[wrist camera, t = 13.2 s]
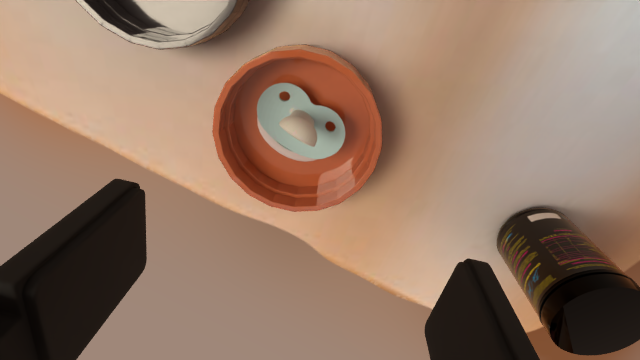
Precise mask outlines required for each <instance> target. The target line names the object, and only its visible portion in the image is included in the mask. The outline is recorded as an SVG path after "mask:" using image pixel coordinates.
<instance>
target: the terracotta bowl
mask: <svg viewBox="0 0 640 360" xmlns="http://www.w3.org/2000/svg"><path fill="white" fill-rule="evenodd" d="M278 83H291V84H294V85H296V86H298V87H300V88H301V89H302V90H303V91H304V92H305V93H306V94H307V95H308V97H309V99H310V101H311V103H313V104H314V105H321V106H325V107H328V108H330V109H332V110H333V111H335V112H336V113H337V114H338V115H339V116H340V118H341V119H342V121H343V124H344V127H345V139H344V143H343V145H342V147H341V148H340V149H339V150H338V151H337V152H336V153H335V154H333V155H332V156H329V157H327V158H323V159H317V160H315V161H307V162H304V161H297V160H294V159H291V158H288V157H286V156H284V155H282V154H280V153H279V152H277V151H276V150H274V149H273V148H272V147H271V146H270V145H269V144H268V143H267V142H266V141H265V139H264V138H263V136H262V135H261V133H260V131H259V128H258V123H257V118H258V116H257V104H258V101H259V98H260V96H261V95H262V93H263V92H264V91H265V90H266V89H267V88H269V87H270V86H272V85H274V84H278ZM279 96H280V98H281V99H282V100H284V101H286V100H289V99H290V94H289V93H288V92H286V91H283V92H281V93H280V94H279ZM325 126H326V129H327V130H329V131H333V130H335V128H336V127H335V124H334V123H333V122H331V121H328V122H327V123H326V124H325ZM212 132H213V137H214V141H215V145H216V149H217V153H218V157H219V159H220V160H221V162H222V164H223V165H224V167H225V169H226V171H227V172H228V174H229V176H230V177H231V179H232V180H234V181H235V182H236V183H237V184H238V185H239V186H240V187H241V188H242V189H243V190H244V191H245V192H246V193H247V194H249V195H250V196H252V197H254V198H256V199H257V200H259V201H261V202H263V203H265V204H267V205H269V206H271V207H276V208H280V209H285V210H289V211H294V212H297V211H317V210H321V209H324V208H327V207H330V206H333V205H336V204H339V203H341V202H343V201H344V200H345V199H347V198H348V197H350V196H351V195H353V194H354V193H355V192H357V191H358V190H359V189H360V188H361V187H362V186H363V184H364V183H365V182H366V180H367V179H368V178H369V176H370V175H371V174H372V173H373V171H374V169H375V166H376V163H377V160H378V157H379V154H380V151H381V148H382V121H381V117H380V114H379V110H378V107H377V105H376V102H375V99H374V96H373V94H372V91H371V88H370V86H369V84H368V83H367V82H366V81H365V79H364V78H363V77H362V76H361V74H360V73H359V72H358V71H357V69H356V68H355V67H354V66H353V65H352V64H350V63H349V62H347V61H346V60H344V59H343V58H341V57H339V56H338V55H336V54H335V53H333V52H332V51H329V50H325V49H321V48H317V47H313V46H309V45H293V46H282V47H277V48H274V49H272V50H270V51H268V52H266V53H264V54H262V55H259V56H257V57H255V58H254V59H252V60H250V61H248V62H247V63H245V64H244V65H243V66H242V67H241V68H240V69H239V70H238V71H237V72H236V73H235V74H234V75H233V76H232V77H231V78H230V79H229V80H228V81H227V82H226V83H225V85H224V87H223V90H222V92H221V94H220V96H219V98H218V100H217V103H216V105H215V108H214V120H213V131H212Z"/></svg>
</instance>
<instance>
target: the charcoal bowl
mask: <svg viewBox="0 0 640 360" xmlns="http://www.w3.org/2000/svg"><path fill="white" fill-rule="evenodd" d="M76 1H77V2H78V3H79V4H80V5H81V6H82V7H83V8H84V9H85V10H86V11H87V12H88V13H89V14H90V15H91V16H92V17H93V18H94V19H95V20H96V21H97V22H98V23H99V24H100V25H102V26H103V27H104V28H106V29H108V30H110V31H111V32H113V33H115V34H117V35H118V36H120V37H122V38H124V39H125V40H127V41H129V42H131V43H134V44H138V45H143V46H147V47H151V48H155V49H160V50H161V49H172V48H182V47H189V46H193V45H196V44H200V43H203V42H205V41H208V40H210V39H212V38H214V37H216V36H218V35H220V34H222V33H224V32H225V31H227V30H228V29H229V27H230V26H231V25H232V24H233V23H234V22H235V21H236V20H237V19H238V18H239V17H240V16H241V14H242V13H243V12H244V10H245V9H246V6H247V4H248V2H249V0H76Z"/></svg>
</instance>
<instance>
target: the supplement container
mask: <svg viewBox="0 0 640 360" xmlns="http://www.w3.org/2000/svg"><path fill="white" fill-rule="evenodd" d="M497 248H498V251H499V253H500V255H501V256H502V258H503V260H504V261H505V263H506V264H507V266H508V268H509V269H510V271H511V273H512V274H513V276H514V277H515V279H516V281H517V282H518V284H519V286H520V287H521V289H522V290H523V292H524V294H525V295H526V297H527V299H528V300H529V302H530V304H531V305H532V307H533V308H534V310H535V312H536V313H537V315H538V317H539V319H540V321H541V323H542V325H543V326H544V327H545V329H546V330H547V332H548V334H549V335H550V337H551V339H552V340H553V342H554V343H555V344H556V345H557V346H558V347H560V348H561V349H563V350H565V351H567V352H570V353H574V354H578V355H601V354H607V353H611V352H615V351H618V350H621V349H623V348H625V347H627V346H630V345H631V344H633V343H635V342H636V341H638V340H639V339H640V287H639V286H638V285H637V284H636V283H635V282H634V281H633V280H632V279H631V278H630V277H628V276H627V275H626V274H625V273H624V272H623V271H622V270H621V269H620V268H619V267H618V266H616V265H615V264H614V263H613V262H612V261H611V260H610V259H609V258H608V257H607V256H606V255H605V254H604V253H603V252H602V251H601V250H600V249H599V248H598V247H597V246H596V245H595V244H594V243H593V242H592V241H591V240H590V239H589V238H588V237H587V236H586V235H585V234H584V233H582V232H581V231H580V230H579V229H578V228H577V227H576V226H575V225H574V224H573V223H572V222H571V221H570V220H569V219H568V218H567V217H566V216H565V215H564V214H562V213H560V212H558V211H556V210H552V209H548V208H533V209H528V210H524V211H522V212H519V213H517V214H516V215H514V216H512V217H511V218H510V219H508V220H507V221H506V222H505V223H504V225H503V226H502V227H501V229H500V231H499V233H498V237H497Z"/></svg>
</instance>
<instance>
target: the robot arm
mask: <svg viewBox="0 0 640 360" xmlns="http://www.w3.org/2000/svg"><path fill="white" fill-rule="evenodd" d="M145 265H146V215H145V192H144V190H142V189H140V186H139V184H137V183H134V182H129V181H125V180H121V179H114V180H113V181H111V182H110V183H109V184H107V185H106V186H105V187H103V188H102V189H101V190H99V191H98V192H97V193H96V194H94V195H93V196H92V197H90V198H89V199H88V200H86V201H85V202H84V203H82V204H81V205H80V206H79V207H77V208H76V209H75V210H73V211H72V212H71V213H70V214H68V215H67V216H65V217H64V218H63V219H62V220H61V221H59V222H58V223H56V224H55V225H54V226H52V227H51V228H50V229H48V230H47V231H46V232H45V233H43V234H42V235H41V236H39V237H38V238H37V239H35V240H34V241H33V242H31V243H30V244H29V245H28V246H26V247H25V248H24V249H22V250H21V251H20V252H18V253H17V254H16V255H14V256H13V257H12V258H11V259H9V260H8V261H7V262H5V263H4V264H3V265H2V266H0V360H76V359H77V358H78V356H79V355H80V354H81V353H82V351H83V350H84V348H85V347H86V346H87V345H88V343H89V342H90V341H91V339H92V338H93V337H94V335H95V334H96V333H97V331H98V330H99V329H100V328H101V326H102V325H103V323H104V322H105V321H106V319H107V318H108V317H109V315H110V314H111V313H112V311H113V310H114V309H115V308H116V306H117V305H118V304H119V302H120V301H121V300H122V299H123V297H124V296H125V295H126V293H127V292H128V291H129V289H130V288H131V286H132V285H133V284H134V283H135V281H136V280H137V279H138V277H139V276H140V275H141V273H142V272H143V270H144V268H145ZM425 337H426V341H427V345H428V350H429V354H430V359H431V360H540V359H539V357H538V355H537V353H536V352H535V350H534V348H533V346H532V344H531V342H530V340H529V338H528V336H527V334H526V333H525V331H524V329H523V327H522V325H521V323H520V321H519V319H518V317H517V316H516V314H515V312H514V310H513V308H512V306H511V304H510V302H509V300H508V299H507V297H506V295H505V293H504V291H503V289H502V287H501V285H500V283H499V282H498V280H497V278H496V276H495V274H494V272H493V270H492V268H491V266H490V265H489V264H488V263H486V262H481V261H477V260H473V259H466V260H465V261H464V262H459V263H458V264H457V266H456V268H455V269H454V271H453V273H452V275H451V277H450V279H449V281H448V282H447V284H446V286H445V288H444V290H443V292H442V294H441V295H440V297H439V299H438V301H437V303H436V305H435V307H434V308H433V310H432V312H431V314H430V316H429V318H428V320H427V322H426V325H425Z"/></svg>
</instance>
